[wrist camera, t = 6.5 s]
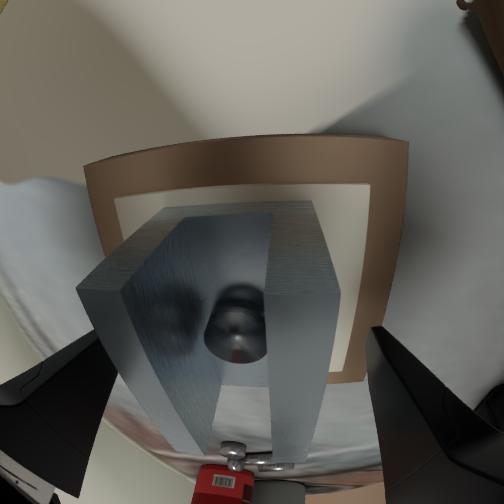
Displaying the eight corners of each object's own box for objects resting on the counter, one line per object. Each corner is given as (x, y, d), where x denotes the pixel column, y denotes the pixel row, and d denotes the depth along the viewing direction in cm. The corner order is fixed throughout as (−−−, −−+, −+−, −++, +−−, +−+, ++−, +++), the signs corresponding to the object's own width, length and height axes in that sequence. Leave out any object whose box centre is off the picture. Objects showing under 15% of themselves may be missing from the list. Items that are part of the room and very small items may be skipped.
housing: (304, 367, 12) (305, 462, 8) (202, 364, 13) (175, 450, 8) (311, 200, 8) (341, 292, 4) (163, 207, 9) (74, 287, 5)
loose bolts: (269, 438, 21) (267, 458, 19) (294, 461, 24) (293, 476, 22) (214, 441, 23) (210, 458, 21) (247, 464, 26) (245, 478, 24)
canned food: (189, 464, 29) (173, 525, 19) (229, 462, 26) (215, 534, 16) (225, 478, 31) (215, 534, 22) (265, 476, 28) (258, 538, 19)
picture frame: (385, 137, 9) (412, 143, 7) (357, 352, 15) (364, 385, 12) (112, 156, 11) (78, 167, 9) (165, 349, 16) (152, 377, 14)
